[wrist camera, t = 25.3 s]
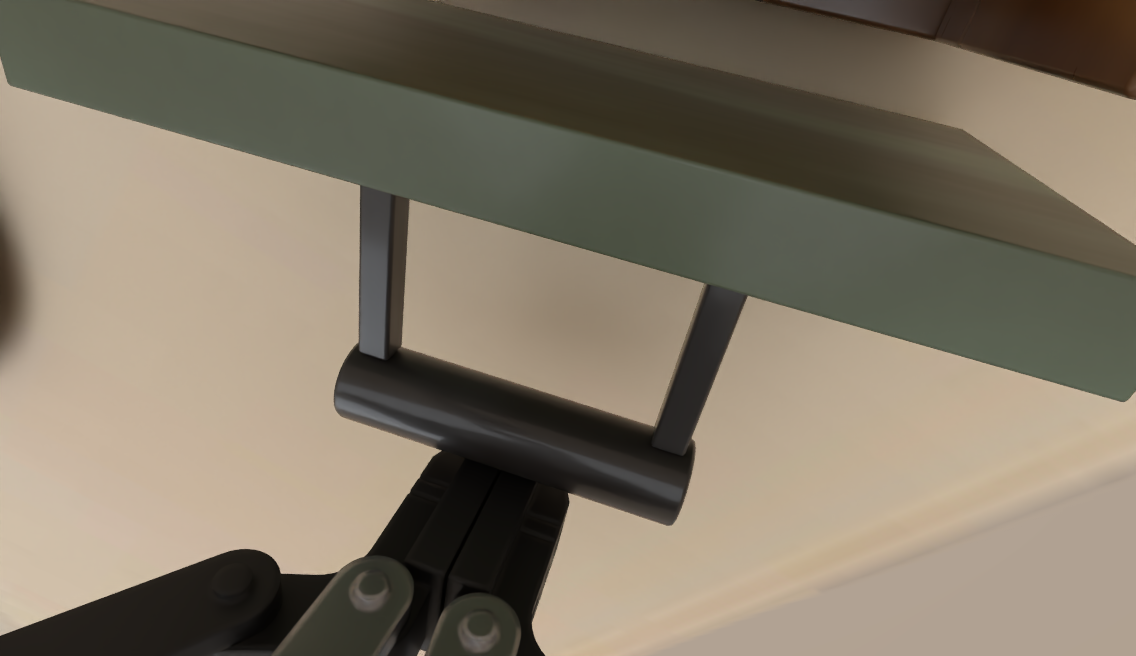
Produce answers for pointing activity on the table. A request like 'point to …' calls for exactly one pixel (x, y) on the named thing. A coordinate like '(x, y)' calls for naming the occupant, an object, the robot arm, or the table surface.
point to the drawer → (631, 192)
